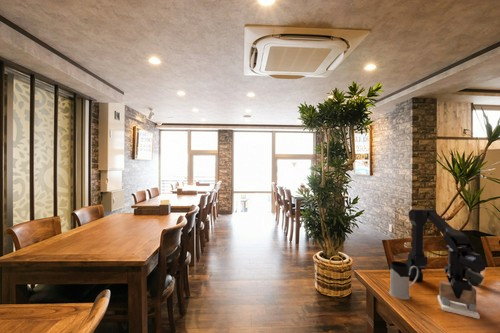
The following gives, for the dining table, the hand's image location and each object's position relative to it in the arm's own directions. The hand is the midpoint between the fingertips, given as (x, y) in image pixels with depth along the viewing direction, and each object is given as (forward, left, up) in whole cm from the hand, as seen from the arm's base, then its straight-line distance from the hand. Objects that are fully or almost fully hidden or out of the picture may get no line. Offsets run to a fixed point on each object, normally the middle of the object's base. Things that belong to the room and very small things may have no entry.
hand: (456, 296), depth 105 cm
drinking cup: (+14, +33, -5) cm, 36 cm away
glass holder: (-19, +1, -5) cm, 20 cm away
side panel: (0, 0, -5) cm, 5 cm away
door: (0, 0, -2) cm, 2 cm away
